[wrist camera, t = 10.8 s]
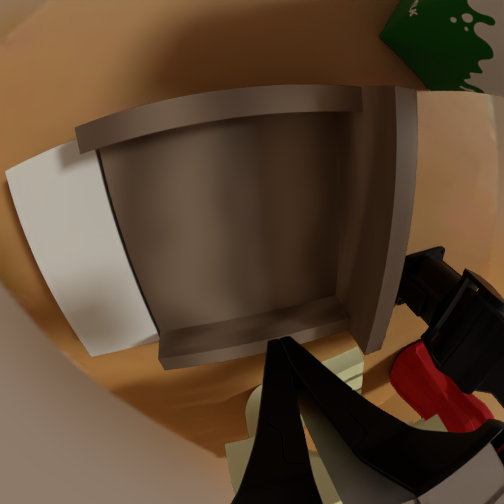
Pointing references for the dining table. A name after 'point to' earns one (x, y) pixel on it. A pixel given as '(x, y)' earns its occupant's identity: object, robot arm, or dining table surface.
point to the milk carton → (451, 43)
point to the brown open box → (263, 212)
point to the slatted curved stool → (347, 370)
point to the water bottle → (435, 392)
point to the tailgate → (82, 248)
